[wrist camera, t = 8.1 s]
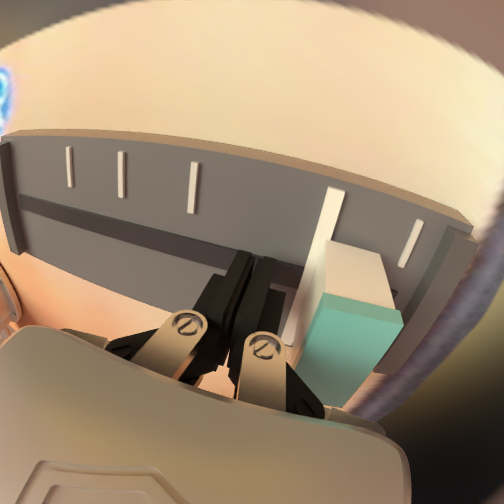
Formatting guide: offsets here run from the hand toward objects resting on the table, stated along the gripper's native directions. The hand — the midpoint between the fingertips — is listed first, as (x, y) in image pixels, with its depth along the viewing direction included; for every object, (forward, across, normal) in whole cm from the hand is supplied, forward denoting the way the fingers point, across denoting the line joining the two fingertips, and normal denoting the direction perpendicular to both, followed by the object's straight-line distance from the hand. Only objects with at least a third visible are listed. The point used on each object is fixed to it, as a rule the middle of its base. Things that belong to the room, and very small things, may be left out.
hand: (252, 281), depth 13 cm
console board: (+3, +6, 0) cm, 7 cm away
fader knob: (+1, -4, 0) cm, 4 cm away
